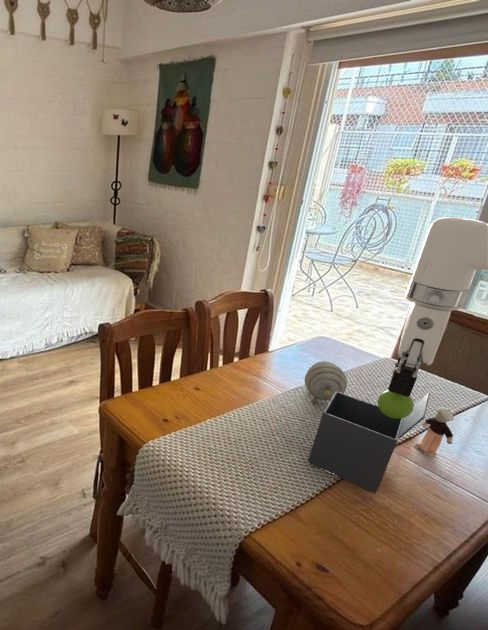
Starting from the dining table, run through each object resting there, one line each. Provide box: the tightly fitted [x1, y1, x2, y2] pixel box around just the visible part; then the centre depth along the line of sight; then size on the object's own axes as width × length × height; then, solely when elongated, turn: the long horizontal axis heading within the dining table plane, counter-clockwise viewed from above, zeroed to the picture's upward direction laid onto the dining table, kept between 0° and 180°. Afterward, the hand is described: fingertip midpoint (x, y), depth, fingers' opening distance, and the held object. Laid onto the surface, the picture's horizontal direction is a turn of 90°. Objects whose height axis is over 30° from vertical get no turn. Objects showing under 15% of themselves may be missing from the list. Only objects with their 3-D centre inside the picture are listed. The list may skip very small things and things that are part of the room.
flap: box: [398, 392, 431, 440], centre depth 91 cm, size 7×12×1 cm
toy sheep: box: [304, 360, 348, 405], centre depth 125 cm, size 11×17×11 cm, turn 160°
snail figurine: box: [377, 361, 418, 419], centre depth 81 cm, size 5×6×12 cm
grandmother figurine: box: [414, 406, 455, 458], centre depth 105 cm, size 8×4×13 cm, turn 17°
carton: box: [307, 391, 404, 495], centre depth 100 cm, size 14×12×14 cm
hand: (400, 385), depth 80 cm, fingers closed on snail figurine, 5 cm apart
